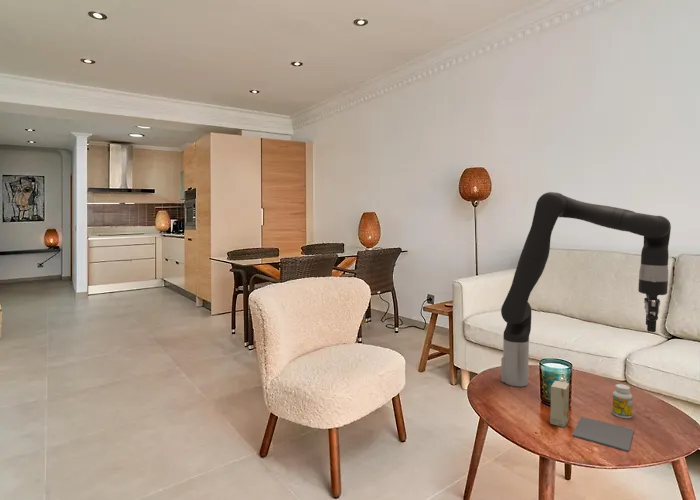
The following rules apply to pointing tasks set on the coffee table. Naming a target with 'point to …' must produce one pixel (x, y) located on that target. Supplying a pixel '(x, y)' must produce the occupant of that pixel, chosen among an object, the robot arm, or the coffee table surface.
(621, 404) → the supplement bottle
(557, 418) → the skincare box
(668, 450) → the coffee table surface
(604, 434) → the mat
